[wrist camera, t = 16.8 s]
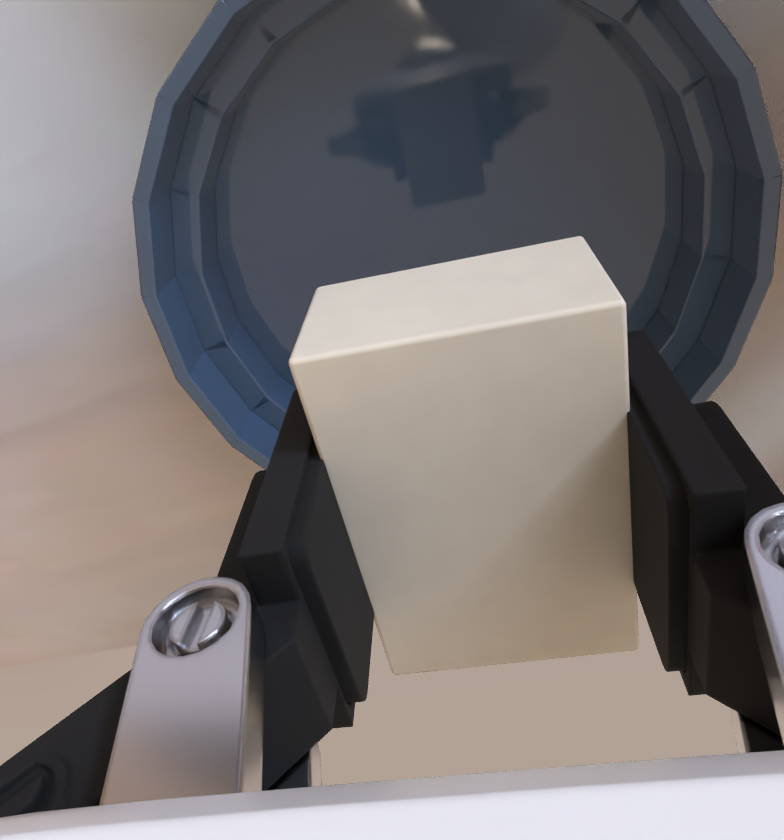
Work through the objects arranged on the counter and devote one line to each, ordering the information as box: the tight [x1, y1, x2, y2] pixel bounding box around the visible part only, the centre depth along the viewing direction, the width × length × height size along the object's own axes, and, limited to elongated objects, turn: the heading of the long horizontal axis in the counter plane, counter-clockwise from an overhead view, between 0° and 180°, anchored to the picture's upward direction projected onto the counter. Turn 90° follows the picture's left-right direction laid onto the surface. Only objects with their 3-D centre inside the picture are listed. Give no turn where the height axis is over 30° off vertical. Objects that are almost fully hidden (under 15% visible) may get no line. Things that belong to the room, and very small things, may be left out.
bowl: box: [132, 0, 782, 470], centre depth 22 cm, size 19×19×4 cm
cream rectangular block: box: [289, 236, 639, 675], centre depth 10 cm, size 4×6×2 cm, turn 12°
